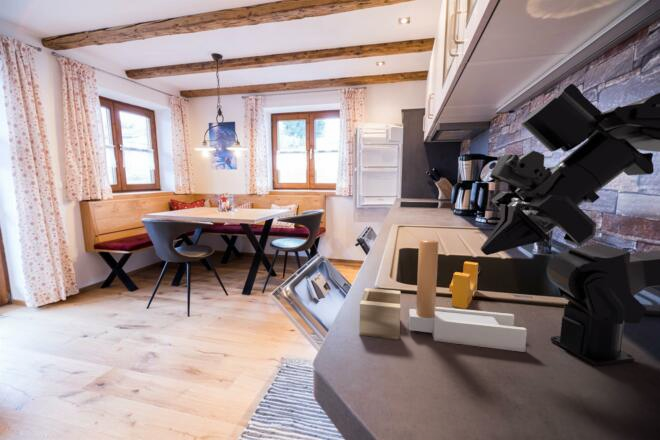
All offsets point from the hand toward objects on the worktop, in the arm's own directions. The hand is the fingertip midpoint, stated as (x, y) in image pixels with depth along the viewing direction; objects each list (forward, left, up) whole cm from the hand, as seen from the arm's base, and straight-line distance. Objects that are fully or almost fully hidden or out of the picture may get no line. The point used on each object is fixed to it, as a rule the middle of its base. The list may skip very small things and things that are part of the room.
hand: (483, 252), depth 42 cm
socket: (+13, -6, -13) cm, 20 cm away
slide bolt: (+4, -2, -12) cm, 13 cm away
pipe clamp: (-8, -15, -14) cm, 22 cm away
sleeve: (0, 0, -13) cm, 13 cm away
